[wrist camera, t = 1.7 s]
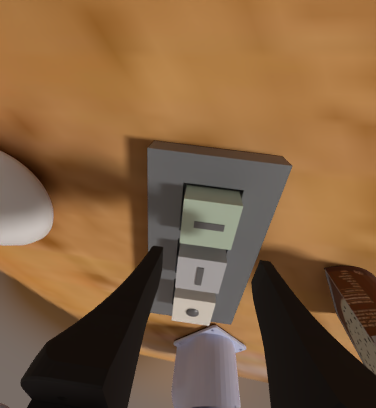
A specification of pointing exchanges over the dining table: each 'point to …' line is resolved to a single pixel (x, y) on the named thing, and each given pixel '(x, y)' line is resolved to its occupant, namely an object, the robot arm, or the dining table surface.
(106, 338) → the robot arm
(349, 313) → the food container
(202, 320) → the cream key
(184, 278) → the grey key
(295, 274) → the dining table surface
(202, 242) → the sage key
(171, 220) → the keypad
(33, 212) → the flower in vase
